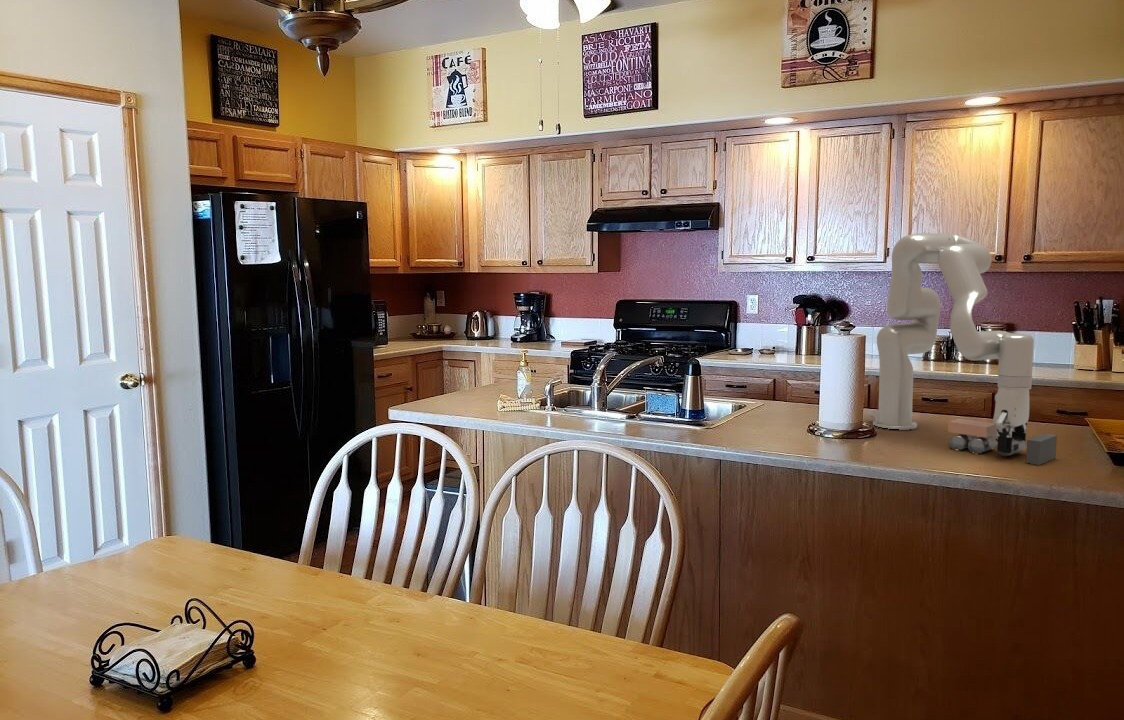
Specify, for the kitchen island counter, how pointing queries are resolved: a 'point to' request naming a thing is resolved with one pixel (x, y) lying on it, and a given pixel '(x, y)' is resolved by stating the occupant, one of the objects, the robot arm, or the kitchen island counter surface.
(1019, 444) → the loose steel roller
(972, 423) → the terracotta slab
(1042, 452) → the rubber block
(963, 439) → the rear steel roller
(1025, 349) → the robot arm
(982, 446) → the front steel roller
